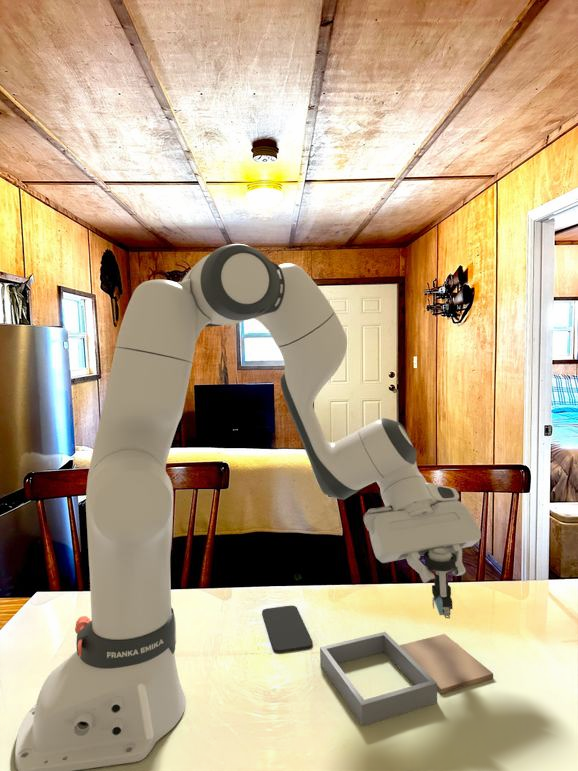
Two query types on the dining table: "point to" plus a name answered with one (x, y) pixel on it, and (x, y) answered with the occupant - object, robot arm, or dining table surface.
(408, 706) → the gray rectangular frame
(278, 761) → the dining table surface
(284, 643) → the phone
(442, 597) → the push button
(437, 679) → the walnut board
